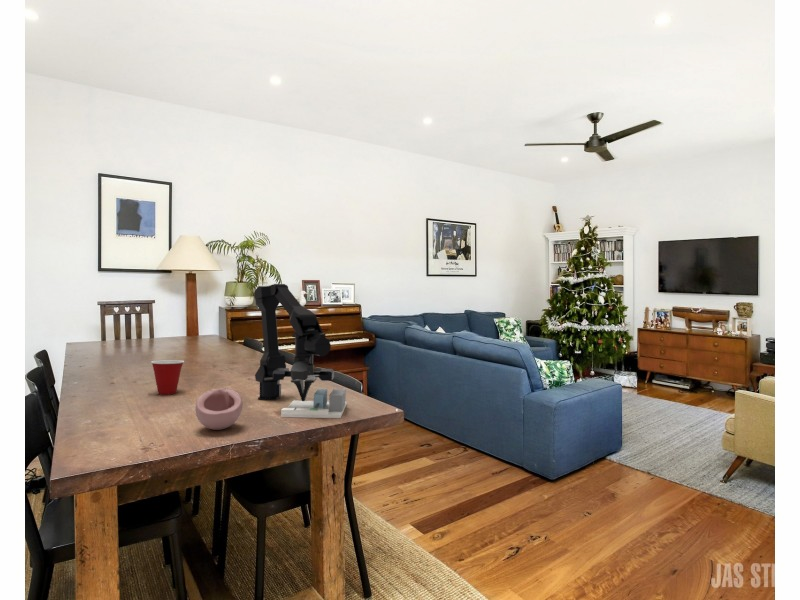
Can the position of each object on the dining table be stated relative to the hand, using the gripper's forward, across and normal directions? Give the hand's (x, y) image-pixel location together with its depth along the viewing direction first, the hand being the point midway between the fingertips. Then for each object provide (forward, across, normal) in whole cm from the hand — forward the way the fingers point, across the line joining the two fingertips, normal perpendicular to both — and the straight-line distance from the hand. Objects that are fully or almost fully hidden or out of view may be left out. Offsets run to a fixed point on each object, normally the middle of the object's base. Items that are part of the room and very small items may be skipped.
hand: (303, 400), depth 145 cm
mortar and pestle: (+3, -19, -20) cm, 28 cm away
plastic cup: (+3, -53, +19) cm, 56 cm away
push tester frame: (+3, +4, 0) cm, 5 cm away
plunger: (+2, +6, -2) cm, 6 cm away
